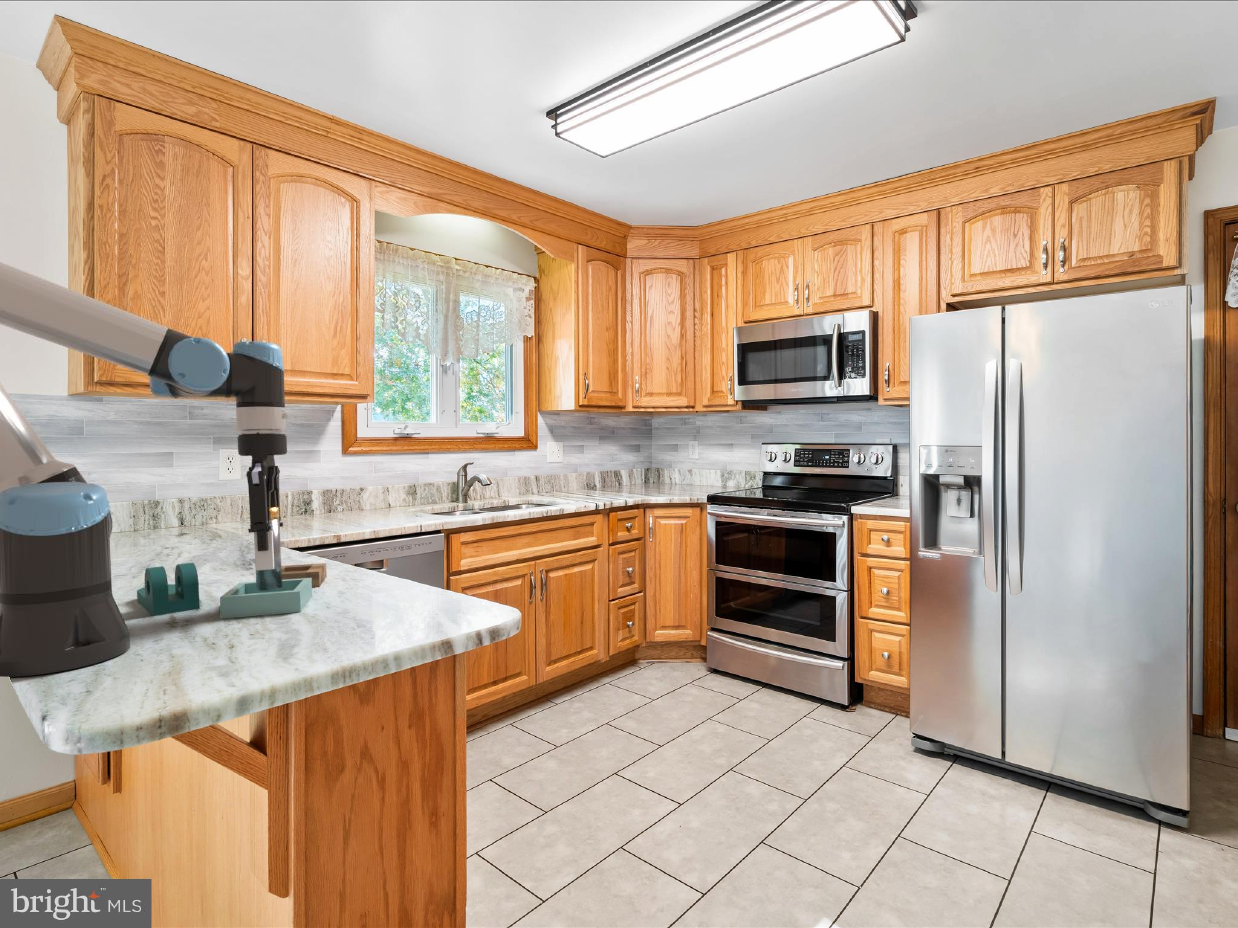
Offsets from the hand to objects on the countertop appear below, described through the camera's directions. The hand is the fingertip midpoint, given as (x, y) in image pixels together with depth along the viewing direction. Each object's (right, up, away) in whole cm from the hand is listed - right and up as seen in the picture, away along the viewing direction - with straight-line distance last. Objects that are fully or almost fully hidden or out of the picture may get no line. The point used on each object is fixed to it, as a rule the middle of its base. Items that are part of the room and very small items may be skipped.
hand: (268, 566), depth 118 cm
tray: (0, -7, 0) cm, 7 cm away
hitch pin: (0, -4, 0) cm, 4 cm away
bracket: (-21, -8, +4) cm, 23 cm away
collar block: (-4, -6, +20) cm, 21 cm away
